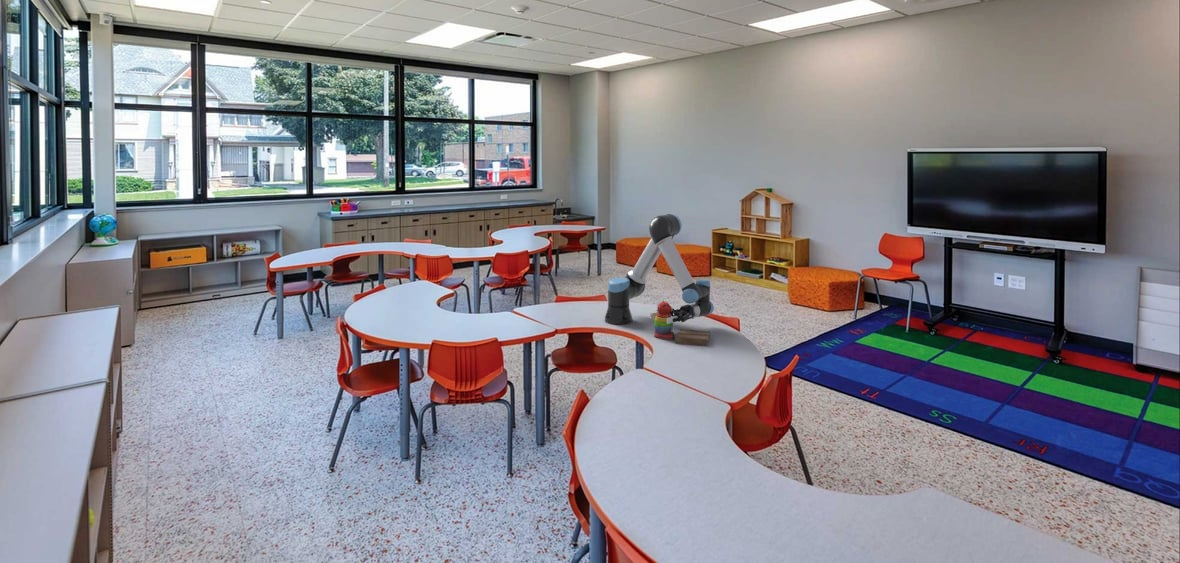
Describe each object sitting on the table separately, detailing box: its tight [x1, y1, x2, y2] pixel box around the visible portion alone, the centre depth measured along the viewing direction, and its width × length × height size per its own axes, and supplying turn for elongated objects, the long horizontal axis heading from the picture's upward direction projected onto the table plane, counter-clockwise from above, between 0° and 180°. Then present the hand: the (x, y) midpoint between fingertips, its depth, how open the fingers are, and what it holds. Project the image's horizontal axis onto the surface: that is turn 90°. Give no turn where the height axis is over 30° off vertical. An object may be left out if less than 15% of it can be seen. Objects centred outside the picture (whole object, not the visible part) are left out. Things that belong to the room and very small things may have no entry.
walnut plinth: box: [675, 328, 711, 347], centre depth 300 cm, size 15×15×3 cm
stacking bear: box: [653, 300, 675, 340], centre depth 305 cm, size 11×10×18 cm
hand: (658, 318), depth 303 cm, fingers open, 11 cm apart
